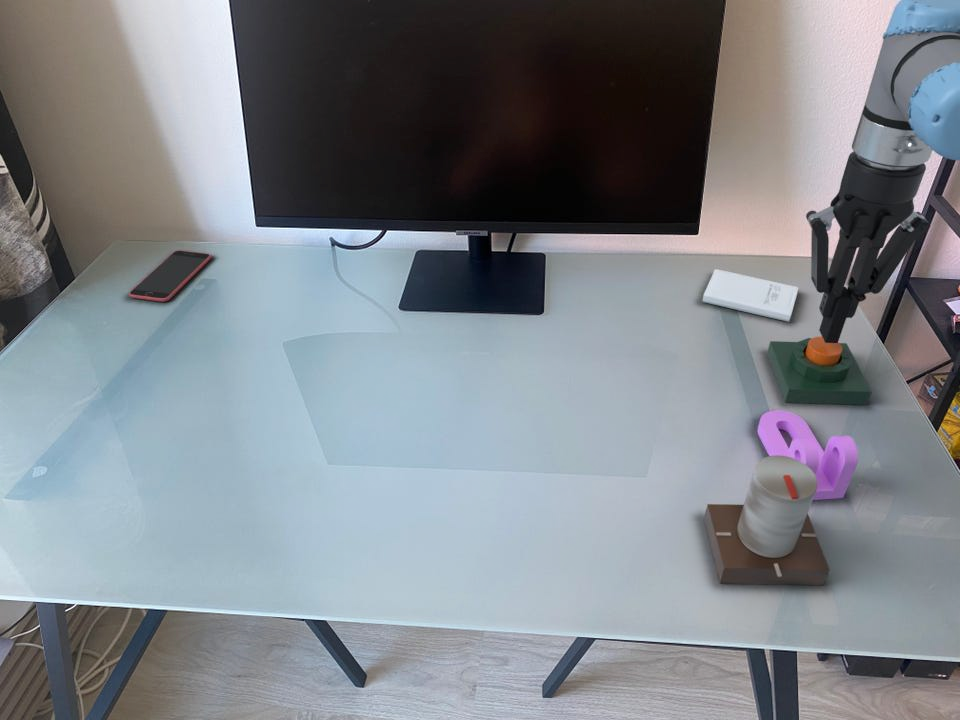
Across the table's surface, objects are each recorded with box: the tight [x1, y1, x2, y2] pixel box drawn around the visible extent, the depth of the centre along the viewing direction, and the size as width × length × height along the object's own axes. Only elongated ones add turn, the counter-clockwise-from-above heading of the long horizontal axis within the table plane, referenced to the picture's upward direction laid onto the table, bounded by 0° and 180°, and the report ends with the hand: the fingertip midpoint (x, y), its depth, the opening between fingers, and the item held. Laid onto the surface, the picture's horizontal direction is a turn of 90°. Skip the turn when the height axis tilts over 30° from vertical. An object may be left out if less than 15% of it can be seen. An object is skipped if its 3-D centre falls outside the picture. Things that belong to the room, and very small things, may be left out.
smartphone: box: [128, 249, 212, 303], centre depth 121 cm, size 7×1×14 cm
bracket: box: [756, 409, 859, 501], centre depth 85 cm, size 13×6×7 cm, turn 4°
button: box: [805, 336, 842, 366], centre depth 95 cm, size 4×4×2 cm
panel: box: [703, 503, 830, 586], centre depth 76 cm, size 10×10×3 cm
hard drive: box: [702, 268, 800, 323], centre depth 112 cm, size 2×8×12 cm
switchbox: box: [766, 337, 873, 406], centre depth 97 cm, size 10×10×4 cm
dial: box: [737, 455, 818, 558], centre depth 73 cm, size 6×6×9 cm
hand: (828, 336), depth 94 cm, fingers closed
